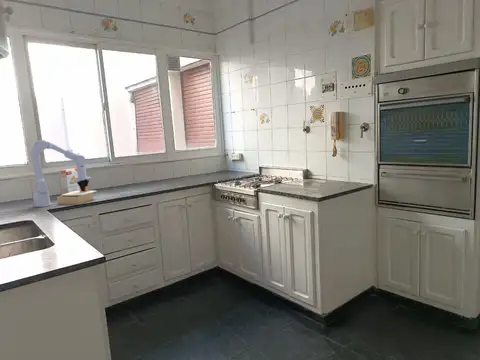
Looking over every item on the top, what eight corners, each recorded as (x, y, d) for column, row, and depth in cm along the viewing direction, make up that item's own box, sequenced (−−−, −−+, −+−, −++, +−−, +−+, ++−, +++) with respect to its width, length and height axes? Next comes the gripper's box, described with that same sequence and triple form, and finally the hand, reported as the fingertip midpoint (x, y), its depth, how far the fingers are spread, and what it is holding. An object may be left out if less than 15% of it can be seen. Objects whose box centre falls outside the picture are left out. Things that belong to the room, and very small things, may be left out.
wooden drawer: (58, 204, 227) (57, 197, 227) (73, 199, 241) (72, 192, 240) (78, 204, 223) (77, 197, 222) (93, 199, 236) (92, 192, 235)
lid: (61, 195, 230) (60, 189, 230) (76, 191, 244) (75, 186, 244) (82, 195, 226) (81, 189, 225) (96, 191, 239) (95, 185, 239)
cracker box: (69, 197, 250) (65, 170, 247) (62, 197, 252) (58, 170, 248) (81, 193, 264) (78, 167, 261) (75, 194, 265) (71, 168, 262)
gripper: (78, 173, 229) (81, 192, 231) (93, 170, 243) (95, 188, 245) (70, 173, 231) (73, 192, 233) (85, 170, 245) (87, 188, 247)
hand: (84, 190), depth 239 cm, fingers closed on lid, 2 cm apart
